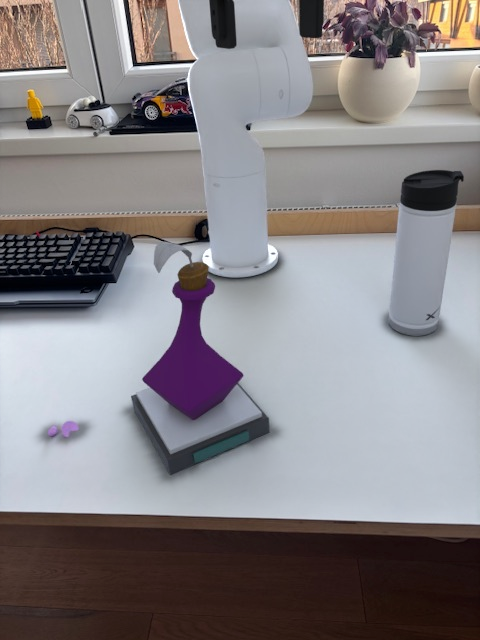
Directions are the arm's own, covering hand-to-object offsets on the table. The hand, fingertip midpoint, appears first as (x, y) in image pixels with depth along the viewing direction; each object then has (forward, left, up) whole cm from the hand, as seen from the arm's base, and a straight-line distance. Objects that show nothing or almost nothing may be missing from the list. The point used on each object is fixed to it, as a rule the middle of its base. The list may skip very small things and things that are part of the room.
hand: (269, 42), depth 54 cm
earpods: (+4, -29, -35) cm, 46 cm away
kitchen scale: (+10, -16, -34) cm, 39 cm away
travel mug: (+8, +16, -34) cm, 39 cm away
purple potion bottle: (+10, -16, -32) cm, 37 cm away
